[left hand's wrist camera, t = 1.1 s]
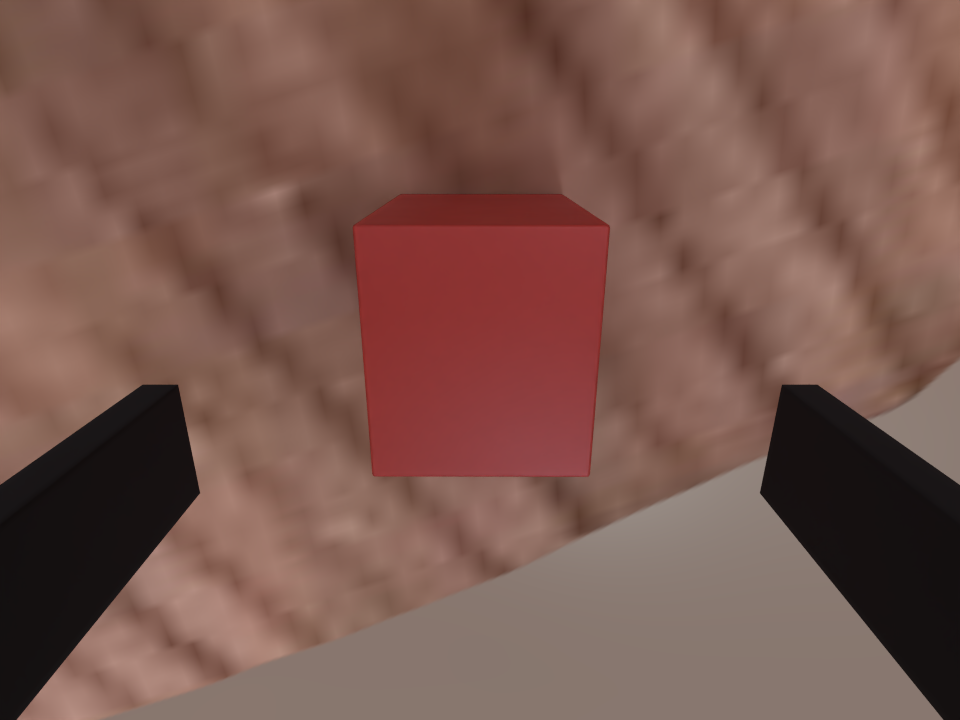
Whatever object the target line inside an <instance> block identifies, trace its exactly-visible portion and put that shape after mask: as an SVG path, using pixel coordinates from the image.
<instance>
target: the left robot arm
mask: <svg viewBox="0 0 960 720" xmlns="http://www.w3.org/2000/svg"><path fill="white" fill-rule="evenodd" d="M199 494H200V491H199V486H198V481H197V476H196V471H195V466H194V461H193V456H192V451H191V446H190V442H189V437H188V432H187V427H186V422H185V417H184V412H183V407H182V402H181V397H180V392H179V388H178V385H142V386H140V387H139V388H137V389H136V390H135V391H133V392H132V393H130V394H129V395H127V396H126V397H125V398H123V399H122V400H120V401H119V402H117V403H116V404H115V405H113V406H112V407H110V408H109V409H108V410H106V411H105V412H103V413H102V414H100V415H99V416H98V417H96V418H95V419H93V420H92V421H91V422H89V423H88V424H86V425H85V426H83V427H82V428H81V429H79V430H78V431H76V432H75V433H73V434H72V435H71V436H69V437H68V438H66V439H65V440H64V441H62V442H61V443H59V444H58V445H56V446H55V447H54V448H52V449H51V450H49V451H48V452H46V453H45V454H44V455H42V456H41V457H39V458H38V459H37V460H35V461H34V462H32V463H31V464H29V465H28V466H27V467H25V468H24V469H22V470H21V471H19V472H18V473H17V474H15V475H14V476H12V477H11V478H10V479H8V480H7V481H5V482H4V483H2V484H1V485H0V720H17V718H18V717H19V716H20V715H21V714H22V712H23V711H24V710H25V709H26V707H27V706H28V705H29V704H30V702H31V701H32V700H33V699H34V697H35V696H36V695H37V694H38V693H39V691H40V690H41V689H42V688H43V686H44V685H45V684H46V683H47V681H48V680H49V679H50V678H51V676H52V675H53V674H54V673H55V672H56V670H57V669H58V668H59V667H60V665H61V664H62V663H63V662H64V660H65V659H66V658H67V657H68V655H69V654H70V653H71V652H72V651H73V649H74V648H75V647H76V646H77V644H78V643H79V642H80V641H81V639H82V638H83V637H84V636H85V634H86V633H87V632H88V631H89V630H90V628H91V627H92V626H93V625H94V623H95V622H96V621H97V620H98V618H99V617H100V616H101V615H102V613H103V612H104V611H105V610H106V609H107V607H108V606H109V605H110V604H111V602H112V601H113V600H114V599H115V597H116V596H117V595H118V594H119V592H120V591H121V590H122V589H123V588H124V586H125V585H126V584H127V583H128V581H129V580H130V579H131V578H132V576H133V575H134V574H135V573H136V571H137V570H138V569H139V568H140V567H141V565H142V564H143V563H144V562H145V560H146V559H147V558H148V557H149V555H150V554H151V553H152V552H153V550H154V549H155V548H156V547H157V546H158V544H159V543H160V542H161V541H162V539H163V538H164V537H165V536H166V534H167V533H168V532H169V531H170V530H171V528H172V527H173V526H174V525H175V523H176V522H177V521H178V520H179V518H180V517H181V516H182V515H183V513H184V512H185V511H186V510H187V509H188V507H189V506H190V505H191V504H192V502H193V501H194V500H195V499H196V497H197V496H198V495H199ZM760 494H761V495H762V496H763V497H764V499H765V500H766V501H767V502H768V504H769V505H770V506H771V507H772V509H773V510H774V511H775V512H776V513H777V515H778V516H779V517H780V518H781V520H782V521H783V522H784V523H785V525H786V526H787V527H788V528H789V530H790V531H791V532H792V533H793V534H794V536H795V537H796V538H797V539H798V541H799V542H800V543H801V544H802V546H803V547H804V548H805V549H806V550H807V552H808V553H809V554H810V555H811V557H812V558H813V559H814V560H815V562H816V563H817V564H818V565H819V566H820V568H821V569H822V570H823V571H824V573H825V574H826V575H827V576H828V578H829V579H830V580H831V581H832V583H833V584H834V585H835V586H836V588H837V589H838V590H839V591H840V592H841V594H842V595H843V596H844V597H845V599H846V600H847V601H848V602H849V604H850V605H851V606H852V607H853V609H854V610H855V611H856V612H857V613H858V615H859V616H860V617H861V618H862V620H863V621H864V622H865V623H866V625H867V626H868V627H869V628H870V630H871V631H872V632H873V633H874V634H875V636H876V637H877V638H878V639H879V641H880V642H881V643H882V644H883V646H884V647H885V648H886V649H887V650H888V652H889V653H890V654H891V655H892V657H893V658H894V659H895V660H896V662H897V663H898V664H899V665H900V667H901V668H902V669H903V670H904V671H905V673H906V674H907V675H908V676H909V678H910V679H911V680H912V681H913V683H914V684H915V685H916V686H917V688H918V689H919V690H920V691H921V692H922V694H923V695H924V696H925V697H926V699H927V700H928V701H929V702H930V704H931V705H932V706H933V707H934V709H935V710H936V711H937V712H938V713H939V715H940V716H941V717H942V718H943V720H960V485H959V484H958V483H956V482H955V481H953V480H952V479H950V478H949V477H948V476H946V475H945V474H943V473H942V472H940V471H939V470H938V469H936V468H935V467H933V466H932V465H930V464H929V463H928V462H926V461H925V460H923V459H922V458H921V457H919V456H918V455H916V454H915V453H913V452H912V451H911V450H909V449H908V448H906V447H905V446H904V445H902V444H901V443H899V442H898V441H896V440H895V439H894V438H892V437H891V436H889V435H888V434H887V433H885V432H884V431H882V430H881V429H879V428H878V427H877V426H875V425H874V424H872V423H871V422H869V421H868V420H867V419H865V418H864V417H862V416H861V415H860V414H858V413H857V412H855V411H854V410H852V409H851V408H850V407H848V406H847V405H845V404H844V403H843V402H841V401H840V400H838V399H837V398H835V397H834V396H833V395H831V394H830V393H828V392H827V391H825V390H824V389H823V388H821V387H820V386H818V385H782V388H781V392H780V397H779V402H778V407H777V412H776V417H775V422H774V427H773V432H772V437H771V442H770V446H769V451H768V456H767V461H766V466H765V471H764V476H763V481H762V486H761V491H760Z"/></svg>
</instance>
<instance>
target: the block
mask: <svg viewBox="0 0 960 720" xmlns="http://www.w3.org/2000/svg"><path fill="white" fill-rule="evenodd" d="M609 233H610V227H609V225H608V224H606V223H605V222H603V221H602V220H600V219H599V218H597V217H596V216H594V215H593V214H591V213H590V212H588V211H586V210H585V209H583V208H582V207H580V206H579V205H577V204H576V203H574V202H573V201H571V200H570V199H568V198H567V197H565V196H564V195H562V194H400V195H399V196H397V197H396V198H394V199H393V200H391V201H390V202H388V203H387V204H385V205H384V206H382V207H381V208H379V209H378V210H376V211H374V212H373V213H371V214H370V215H368V216H367V217H365V218H364V219H362V220H361V221H359V222H358V223H356V224H355V225H354V226H353V236H354V249H355V261H356V274H357V286H358V299H359V312H360V324H361V337H362V349H363V362H364V374H365V387H366V400H367V412H368V425H369V437H370V450H371V462H372V474H373V476H537V477H587V476H589V475H590V466H591V454H592V441H593V429H594V417H595V405H596V392H597V380H598V368H599V356H600V343H601V331H602V319H603V306H604V294H605V282H606V270H607V257H608V245H609Z"/></svg>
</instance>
